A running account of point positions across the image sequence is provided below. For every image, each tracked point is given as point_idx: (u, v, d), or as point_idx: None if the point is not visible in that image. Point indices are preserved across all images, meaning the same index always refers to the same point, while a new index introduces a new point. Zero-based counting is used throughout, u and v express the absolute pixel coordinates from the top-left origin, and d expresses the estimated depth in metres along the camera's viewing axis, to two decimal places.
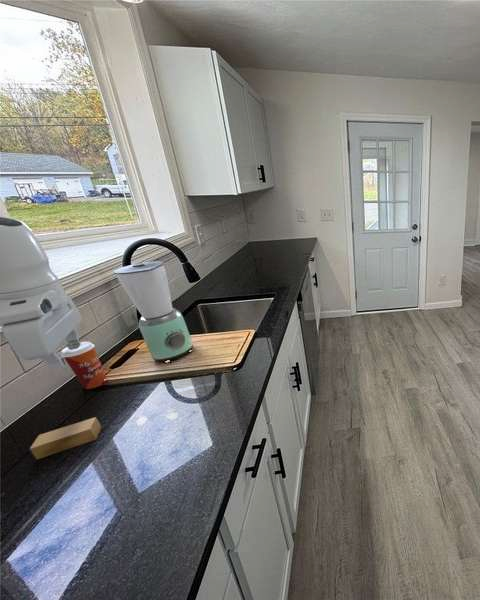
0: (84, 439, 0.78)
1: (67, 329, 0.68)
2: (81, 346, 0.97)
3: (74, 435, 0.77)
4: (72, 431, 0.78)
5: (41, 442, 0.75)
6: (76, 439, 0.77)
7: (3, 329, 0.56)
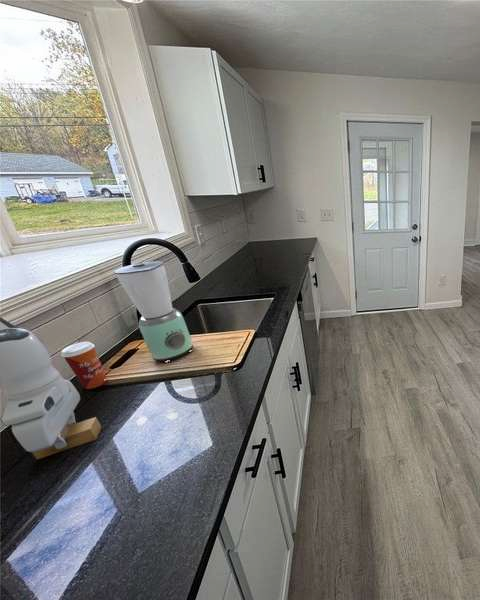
0: (84, 439, 0.78)
1: (67, 414, 0.78)
2: (81, 346, 0.97)
3: (74, 435, 0.77)
4: (72, 431, 0.78)
5: None
6: (76, 439, 0.77)
7: (13, 429, 0.66)
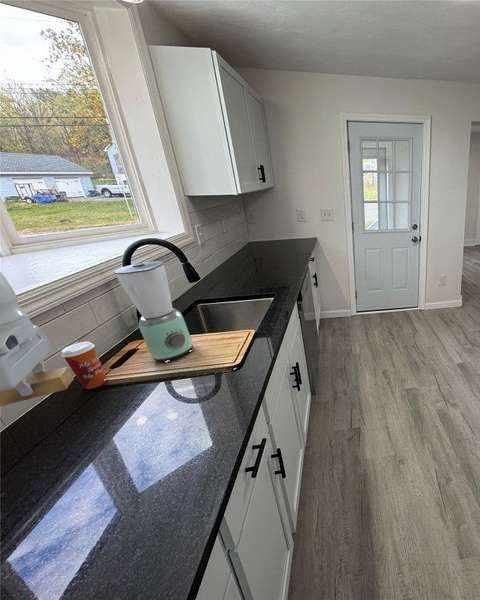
0: (53, 388, 0.72)
1: (35, 360, 0.72)
2: (81, 346, 0.97)
3: (42, 382, 0.71)
4: (40, 379, 0.72)
5: None
6: (43, 387, 0.72)
7: None
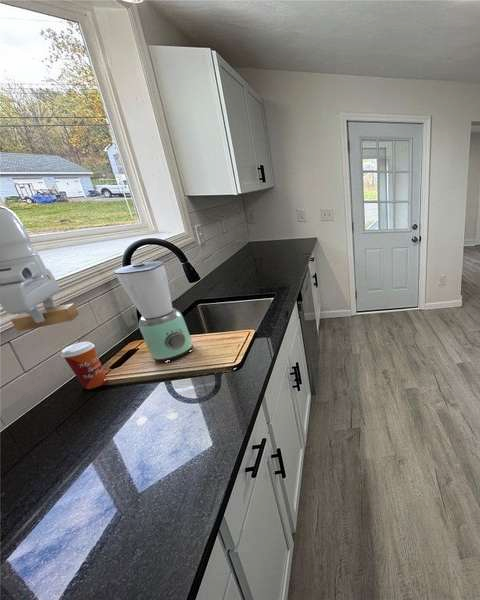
0: (61, 318, 0.85)
1: (46, 294, 0.85)
2: (81, 346, 0.97)
3: (52, 313, 0.84)
4: (50, 310, 0.85)
5: (21, 316, 0.82)
6: (53, 316, 0.85)
7: None
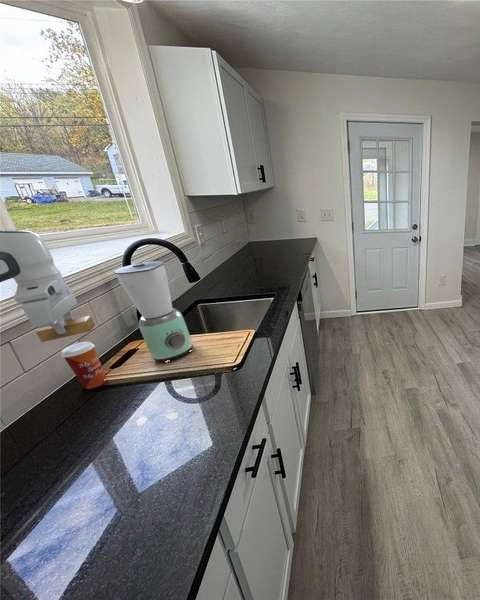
0: (80, 330, 0.95)
1: (66, 308, 0.94)
2: (81, 346, 0.97)
3: (72, 325, 0.93)
4: (70, 322, 0.94)
5: (45, 328, 0.91)
6: (73, 328, 0.94)
7: (22, 305, 0.82)
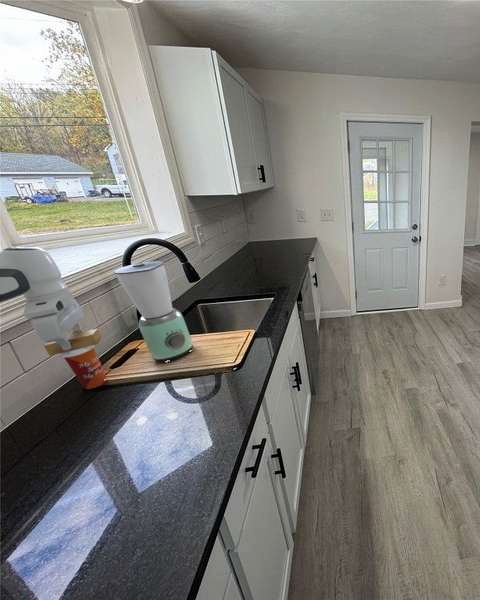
0: (87, 343, 0.96)
1: (73, 322, 0.96)
2: None
3: (79, 338, 0.95)
4: (77, 336, 0.96)
5: (52, 342, 0.93)
6: (80, 342, 0.95)
7: (31, 321, 0.84)
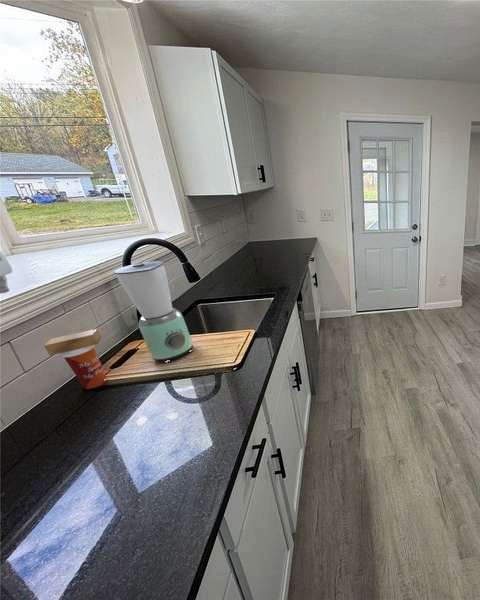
0: (87, 343, 0.96)
1: None
2: None
3: (79, 338, 0.95)
4: (77, 336, 0.96)
5: (53, 342, 0.93)
6: (81, 342, 0.96)
7: None
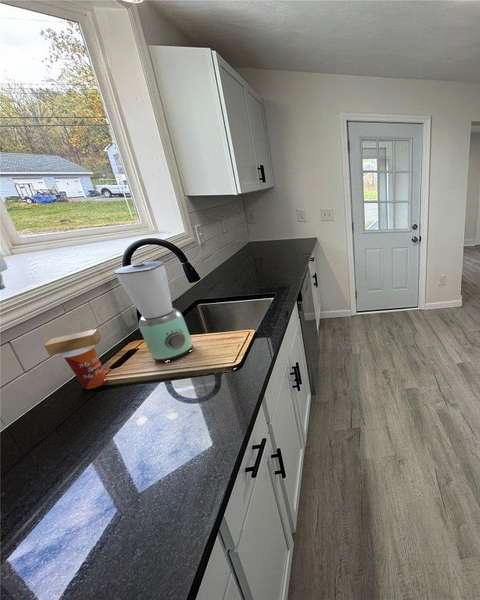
0: (87, 343, 0.96)
1: None
2: None
3: (79, 338, 0.95)
4: (77, 336, 0.96)
5: (53, 342, 0.93)
6: (81, 342, 0.95)
7: None
